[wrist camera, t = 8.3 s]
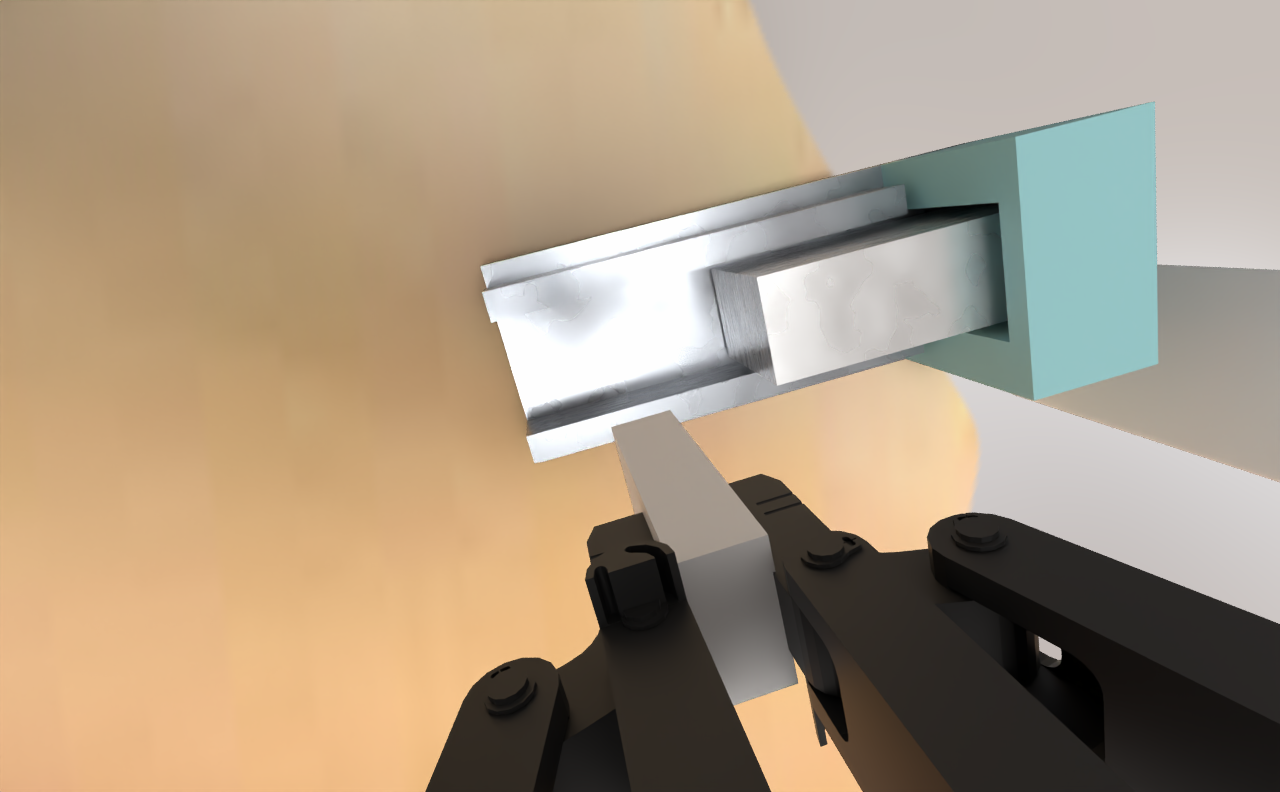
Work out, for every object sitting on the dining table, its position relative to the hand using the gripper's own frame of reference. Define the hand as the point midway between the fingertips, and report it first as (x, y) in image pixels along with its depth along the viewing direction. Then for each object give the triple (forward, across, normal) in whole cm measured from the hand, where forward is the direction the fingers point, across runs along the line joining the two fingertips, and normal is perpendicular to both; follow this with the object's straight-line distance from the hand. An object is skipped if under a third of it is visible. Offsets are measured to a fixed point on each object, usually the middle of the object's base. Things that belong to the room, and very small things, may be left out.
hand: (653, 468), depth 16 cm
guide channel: (+15, +8, +1) cm, 17 cm away
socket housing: (+13, +17, +1) cm, 21 cm away
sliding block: (+13, +12, +1) cm, 18 cm away
